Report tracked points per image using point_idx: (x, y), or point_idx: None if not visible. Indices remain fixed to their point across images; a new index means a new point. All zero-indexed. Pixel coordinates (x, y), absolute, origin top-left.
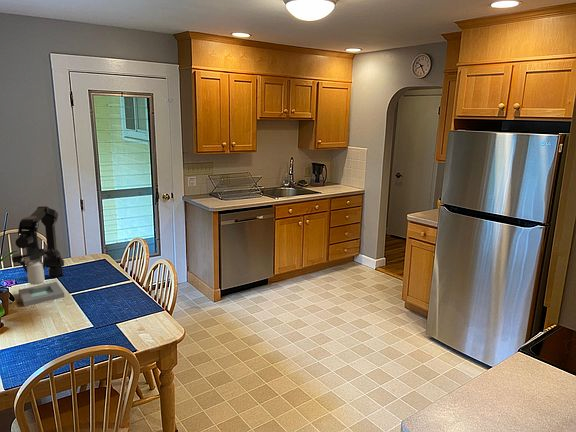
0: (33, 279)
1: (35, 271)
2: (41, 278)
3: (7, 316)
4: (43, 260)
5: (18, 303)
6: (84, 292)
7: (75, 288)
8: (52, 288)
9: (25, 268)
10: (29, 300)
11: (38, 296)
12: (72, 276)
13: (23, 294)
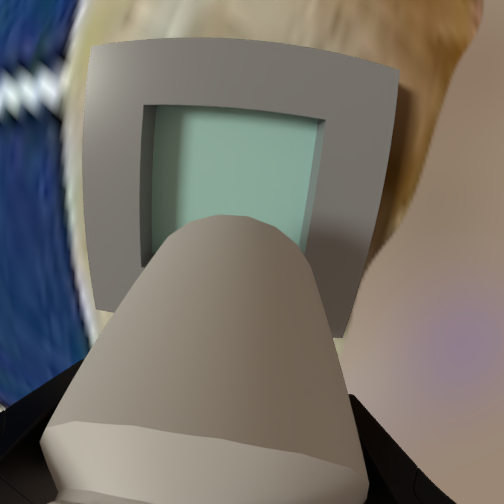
0: (282, 253)
1: (234, 314)
2: (176, 239)
3: (476, 32)
4: (11, 485)
5: (397, 163)
6: (12, 72)
7: (28, 170)
8: (133, 194)
9: (383, 451)
10: (361, 61)
11: (278, 88)
12: (43, 352)
13: (355, 229)
